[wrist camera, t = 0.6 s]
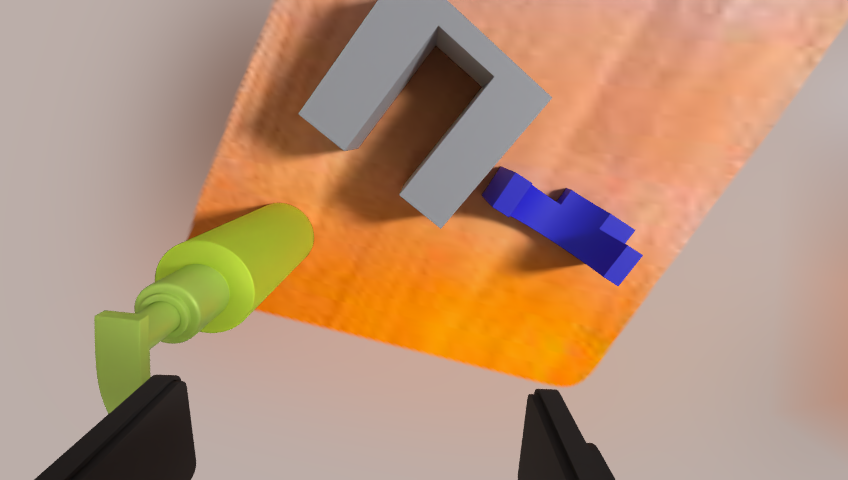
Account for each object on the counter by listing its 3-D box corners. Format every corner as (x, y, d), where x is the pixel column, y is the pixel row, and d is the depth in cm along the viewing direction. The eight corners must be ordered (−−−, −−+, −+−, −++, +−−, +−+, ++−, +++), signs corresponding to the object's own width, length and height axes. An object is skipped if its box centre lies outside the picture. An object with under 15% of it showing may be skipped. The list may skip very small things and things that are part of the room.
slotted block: (408, -7, 31) (405, -39, 25) (529, 104, 33) (552, 97, 27) (320, 117, 33) (298, 113, 28) (438, 213, 35) (440, 228, 30)
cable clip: (618, 222, 36) (655, 239, 30) (587, 262, 37) (618, 286, 31) (510, 151, 34) (527, 154, 28) (481, 195, 35) (492, 206, 29)
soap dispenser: (249, 272, 37) (56, 422, 18) (249, 199, 35) (36, 277, 16) (312, 279, 37) (189, 435, 18) (315, 206, 35) (183, 293, 16)
